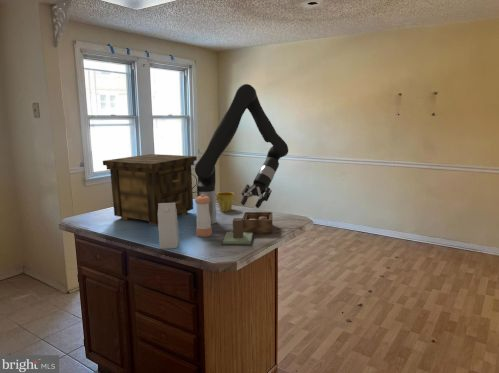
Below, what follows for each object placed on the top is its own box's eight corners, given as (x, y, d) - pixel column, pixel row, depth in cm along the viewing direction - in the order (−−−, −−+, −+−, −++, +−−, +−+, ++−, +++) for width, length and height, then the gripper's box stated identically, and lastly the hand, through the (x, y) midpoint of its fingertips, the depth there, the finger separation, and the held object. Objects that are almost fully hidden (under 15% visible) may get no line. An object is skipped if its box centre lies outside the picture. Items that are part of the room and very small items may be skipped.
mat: (221, 245, 158) (221, 244, 158) (225, 235, 171) (225, 234, 171) (251, 245, 157) (251, 244, 157) (253, 235, 170) (253, 234, 170)
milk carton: (162, 243, 162) (159, 201, 158) (178, 242, 162) (176, 200, 159) (159, 249, 155) (156, 205, 151) (176, 248, 155) (174, 204, 152)
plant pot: (232, 212, 211) (231, 195, 209) (214, 211, 213) (214, 195, 211) (236, 208, 221) (235, 192, 219) (219, 207, 223) (219, 191, 221)
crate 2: (242, 233, 173) (242, 219, 172) (244, 224, 187) (244, 212, 185) (272, 233, 172) (272, 219, 171) (272, 225, 186) (272, 212, 184)
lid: (222, 243, 159) (222, 223, 157) (227, 234, 171) (226, 215, 169) (250, 243, 158) (250, 223, 156) (252, 234, 170) (252, 215, 168)
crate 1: (154, 206, 230) (150, 154, 223) (199, 212, 213) (196, 156, 206) (108, 220, 200) (102, 160, 194) (156, 229, 183) (151, 164, 176)
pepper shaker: (195, 232, 176) (193, 193, 172) (210, 231, 178) (208, 192, 174) (197, 237, 169) (195, 196, 165) (213, 235, 171) (211, 195, 167)
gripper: (249, 171, 176) (233, 199, 170) (273, 174, 167) (258, 203, 161) (256, 180, 181) (241, 207, 175) (280, 183, 172) (265, 212, 166)
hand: (249, 205), depth 168 cm, fingers open, 8 cm apart
